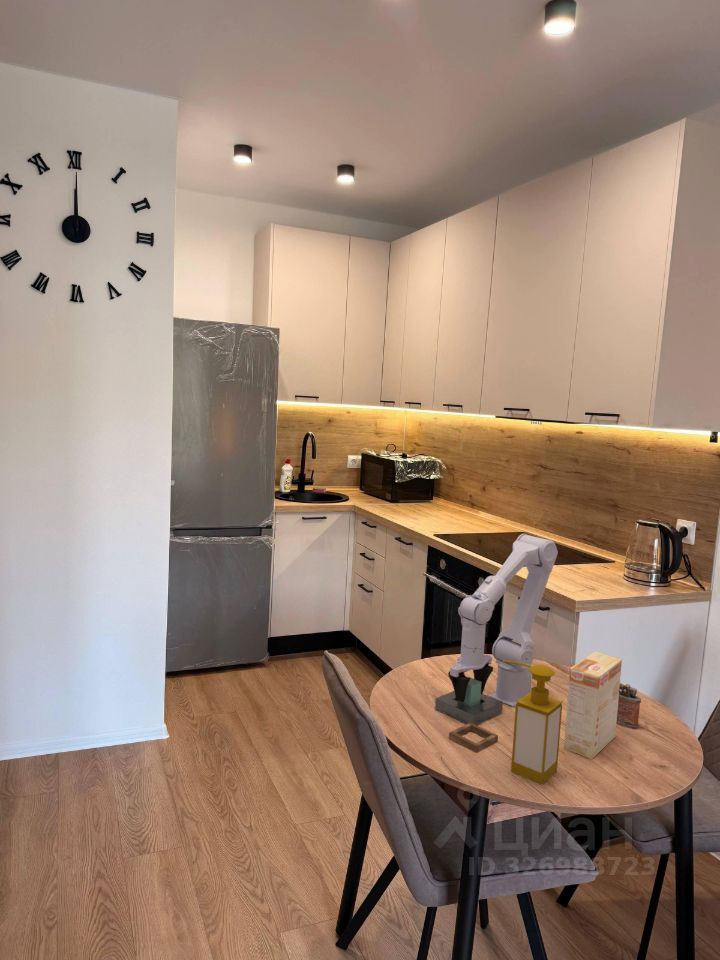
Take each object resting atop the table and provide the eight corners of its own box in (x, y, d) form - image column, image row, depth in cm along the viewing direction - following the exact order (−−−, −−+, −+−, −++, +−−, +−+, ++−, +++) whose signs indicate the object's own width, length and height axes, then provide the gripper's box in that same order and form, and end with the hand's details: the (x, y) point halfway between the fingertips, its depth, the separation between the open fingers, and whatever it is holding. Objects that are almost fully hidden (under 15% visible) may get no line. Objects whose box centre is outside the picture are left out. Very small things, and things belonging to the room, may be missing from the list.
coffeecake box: (587, 726, 167) (594, 650, 165) (616, 737, 163) (623, 658, 161) (561, 748, 156) (568, 667, 154) (592, 760, 151) (599, 676, 149)
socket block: (464, 696, 181) (465, 686, 181) (501, 713, 173) (502, 702, 172) (435, 709, 173) (435, 698, 173) (472, 727, 164) (473, 715, 164)
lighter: (640, 726, 169) (644, 688, 168) (635, 730, 166) (639, 691, 165) (608, 715, 174) (612, 677, 173) (603, 719, 172) (606, 681, 171)
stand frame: (470, 728, 164) (470, 722, 164) (497, 741, 158) (498, 735, 158) (448, 738, 158) (449, 732, 158) (476, 752, 153) (476, 746, 152)
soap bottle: (503, 749, 154) (510, 649, 152) (556, 770, 146) (565, 665, 144) (488, 761, 149) (495, 658, 146) (542, 784, 141) (551, 675, 138)
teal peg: (467, 706, 176) (468, 676, 175) (479, 712, 173) (481, 681, 172) (457, 710, 173) (459, 680, 172) (469, 716, 170) (471, 685, 169)
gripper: (477, 634, 179) (474, 684, 180) (441, 646, 169) (438, 698, 170) (499, 642, 174) (496, 693, 175) (464, 655, 164) (460, 708, 165)
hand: (469, 696), depth 172 cm, fingers open, 7 cm apart
